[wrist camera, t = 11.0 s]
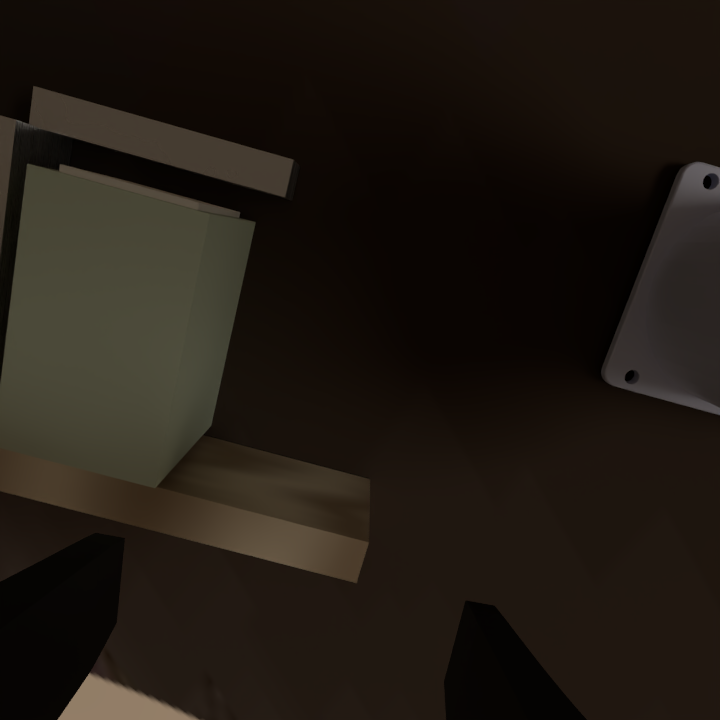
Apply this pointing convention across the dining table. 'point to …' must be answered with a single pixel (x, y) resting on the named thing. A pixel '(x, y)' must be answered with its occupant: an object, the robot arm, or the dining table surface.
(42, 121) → the grey l-shaped piece
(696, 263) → the robot arm
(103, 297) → the cabinet block
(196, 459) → the base board
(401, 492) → the dining table surface
